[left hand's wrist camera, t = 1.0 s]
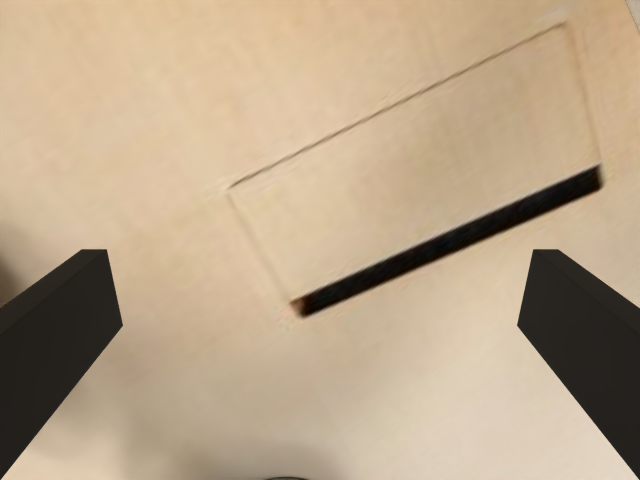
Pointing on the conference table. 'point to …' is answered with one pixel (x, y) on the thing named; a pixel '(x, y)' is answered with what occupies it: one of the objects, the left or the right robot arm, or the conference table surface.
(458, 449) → the conference table surface
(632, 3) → the bar
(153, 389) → the conference table surface
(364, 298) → the conference table surface
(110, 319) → the left robot arm
